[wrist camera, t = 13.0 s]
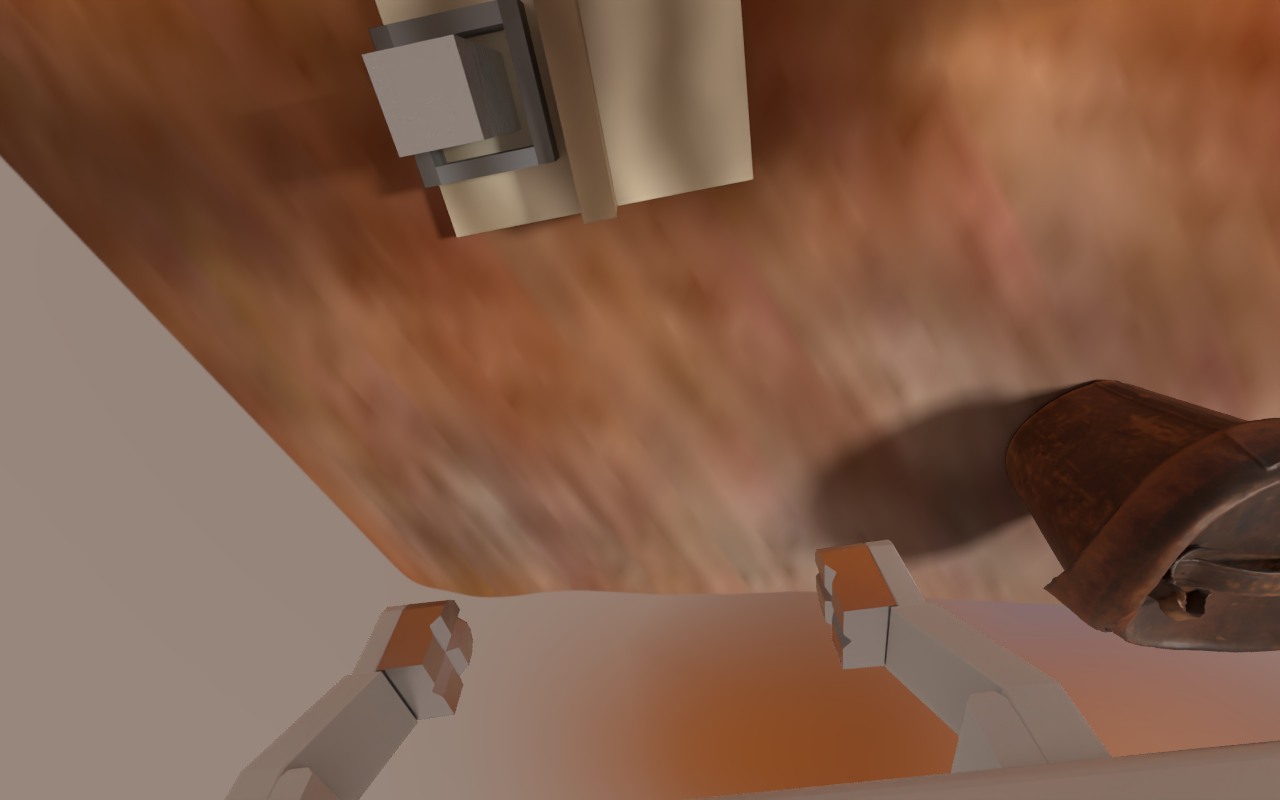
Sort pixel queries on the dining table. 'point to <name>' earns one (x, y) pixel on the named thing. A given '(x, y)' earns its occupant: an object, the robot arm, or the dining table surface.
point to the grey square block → (442, 93)
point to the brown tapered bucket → (1157, 516)
